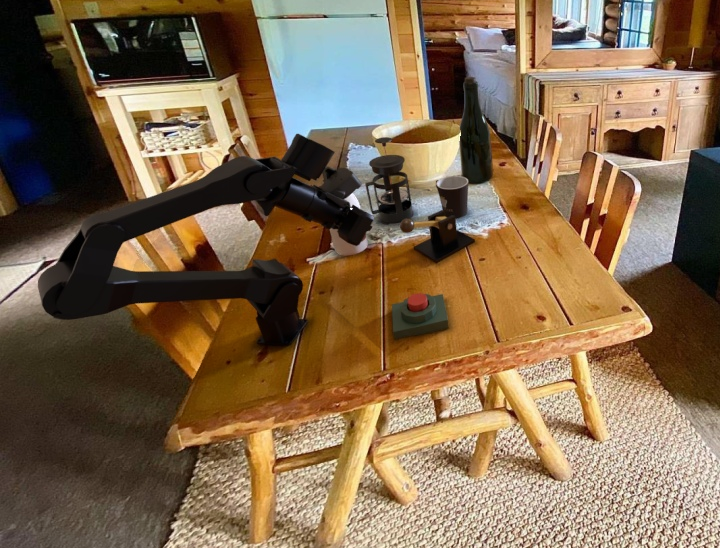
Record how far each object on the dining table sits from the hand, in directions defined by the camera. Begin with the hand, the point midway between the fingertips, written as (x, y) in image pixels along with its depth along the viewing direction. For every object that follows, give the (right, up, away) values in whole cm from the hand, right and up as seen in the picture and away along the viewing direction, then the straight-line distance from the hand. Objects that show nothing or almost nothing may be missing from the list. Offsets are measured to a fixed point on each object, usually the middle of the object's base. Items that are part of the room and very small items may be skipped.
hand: (370, 228), depth 91 cm
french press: (-5, +1, +32) cm, 32 cm away
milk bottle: (-11, -6, +18) cm, 22 cm away
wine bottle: (+14, +13, +56) cm, 59 cm away
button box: (+12, -18, -5) cm, 22 cm away
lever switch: (+12, -6, +18) cm, 22 cm away
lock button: (+12, -15, -7) cm, 20 cm away
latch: (+8, -1, +11) cm, 14 cm away
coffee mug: (+11, +2, +34) cm, 36 cm away
